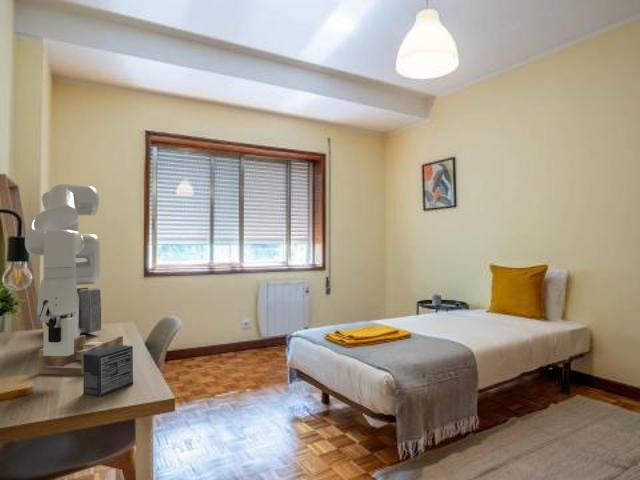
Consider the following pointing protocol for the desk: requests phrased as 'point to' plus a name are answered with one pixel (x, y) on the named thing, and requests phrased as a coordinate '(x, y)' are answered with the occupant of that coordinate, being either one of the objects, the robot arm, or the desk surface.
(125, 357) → the small box
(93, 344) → the offcut
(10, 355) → the desk surface
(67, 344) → the white box
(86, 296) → the decorative stone tablet
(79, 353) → the offcut
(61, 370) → the rack
